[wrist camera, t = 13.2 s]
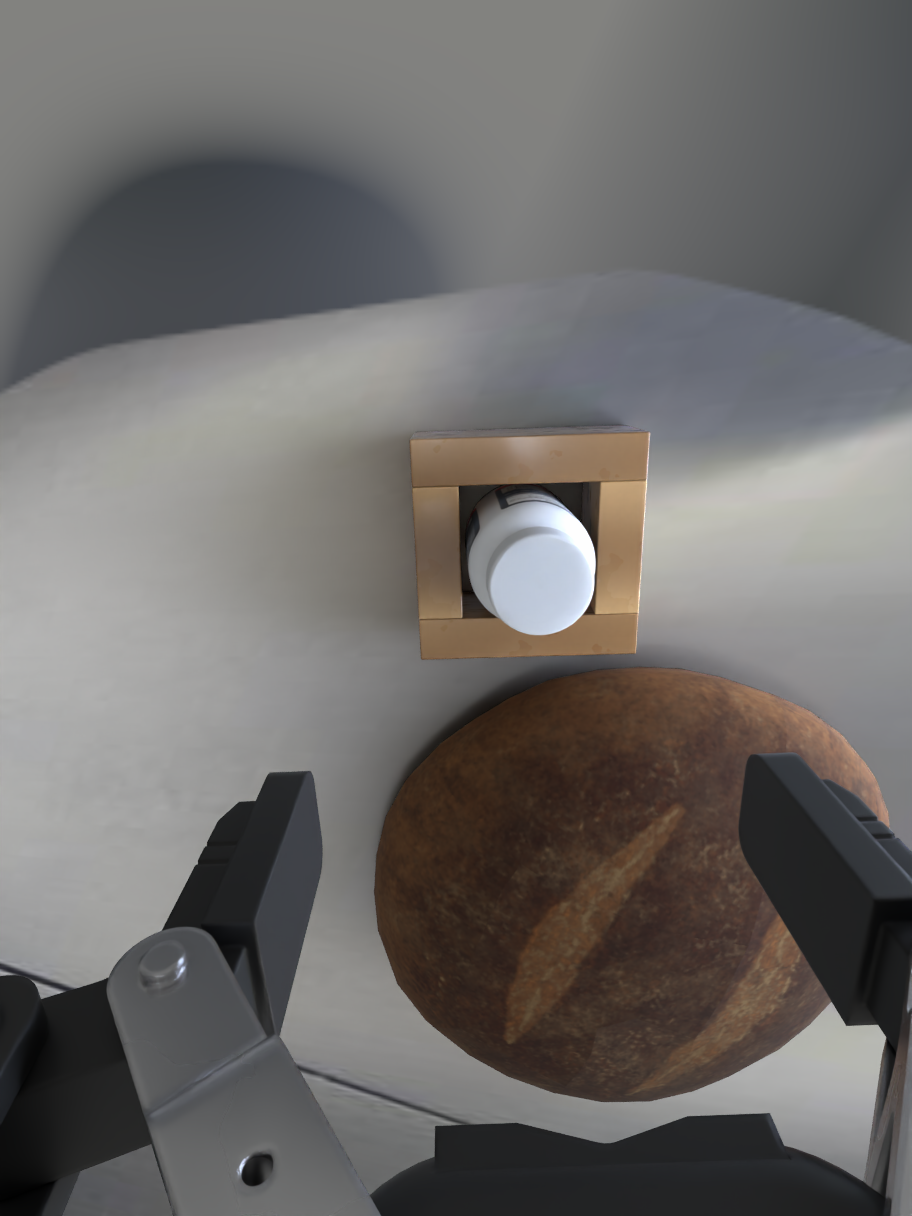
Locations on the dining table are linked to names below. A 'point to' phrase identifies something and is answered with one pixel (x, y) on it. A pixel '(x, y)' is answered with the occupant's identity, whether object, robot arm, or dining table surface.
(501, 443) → the holder
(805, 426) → the dining table surface
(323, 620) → the dining table surface
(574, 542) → the pill bottle
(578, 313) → the dining table surface
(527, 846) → the bread
